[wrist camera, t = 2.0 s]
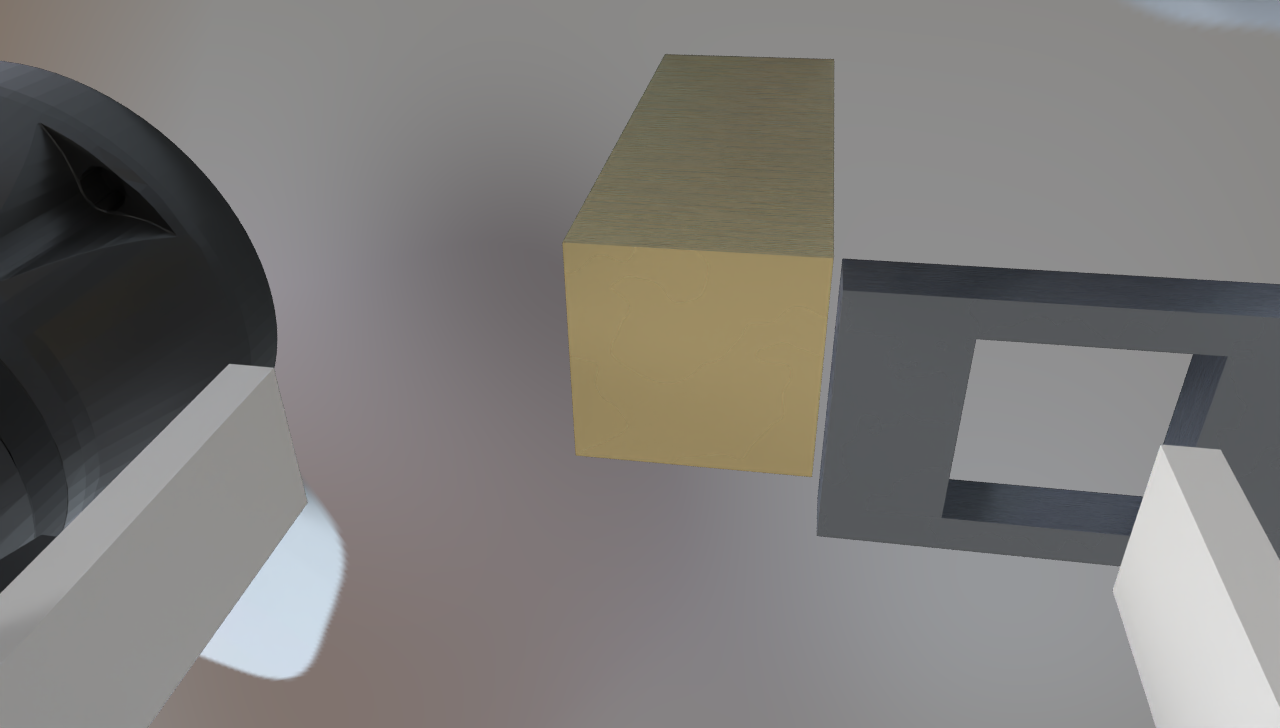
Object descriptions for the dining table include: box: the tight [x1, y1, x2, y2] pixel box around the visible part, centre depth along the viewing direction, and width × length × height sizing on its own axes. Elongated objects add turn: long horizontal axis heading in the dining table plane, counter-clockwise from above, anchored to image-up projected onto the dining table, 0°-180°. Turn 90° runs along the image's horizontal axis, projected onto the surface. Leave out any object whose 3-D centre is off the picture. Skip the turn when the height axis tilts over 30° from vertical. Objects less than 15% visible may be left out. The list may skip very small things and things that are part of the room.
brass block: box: [562, 54, 834, 477], centre depth 22 cm, size 4×4×12 cm
